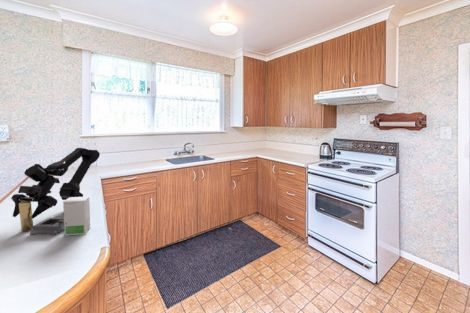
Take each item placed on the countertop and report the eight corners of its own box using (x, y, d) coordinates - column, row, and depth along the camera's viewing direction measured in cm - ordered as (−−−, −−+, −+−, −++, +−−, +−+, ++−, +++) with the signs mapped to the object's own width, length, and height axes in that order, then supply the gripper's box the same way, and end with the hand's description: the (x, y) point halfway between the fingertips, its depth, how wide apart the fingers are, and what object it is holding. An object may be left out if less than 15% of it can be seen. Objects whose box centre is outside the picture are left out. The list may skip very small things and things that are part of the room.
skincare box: (64, 236, 96) (61, 201, 94) (71, 229, 102) (68, 196, 100) (86, 234, 98) (83, 200, 96) (91, 227, 104) (89, 195, 102)
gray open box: (30, 234, 97) (29, 224, 96) (47, 225, 105) (46, 216, 105) (58, 235, 97) (57, 225, 96) (72, 225, 106) (71, 216, 105)
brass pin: (22, 229, 101) (19, 201, 100) (34, 227, 104) (31, 200, 102) (20, 232, 98) (17, 204, 96) (32, 230, 100) (29, 203, 99)
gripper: (13, 177, 103) (-13, 208, 93) (49, 178, 101) (27, 211, 91) (31, 188, 111) (10, 218, 102) (65, 190, 110) (46, 221, 100)
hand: (22, 217), depth 99 cm, fingers open, 9 cm apart
